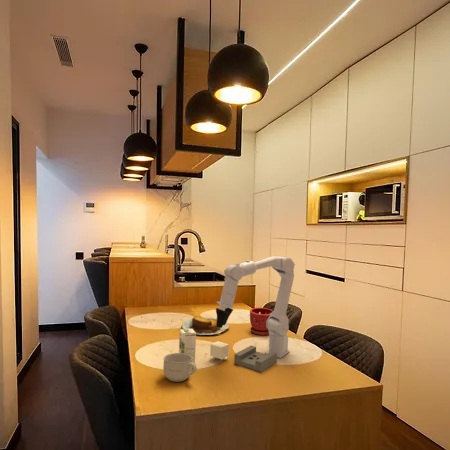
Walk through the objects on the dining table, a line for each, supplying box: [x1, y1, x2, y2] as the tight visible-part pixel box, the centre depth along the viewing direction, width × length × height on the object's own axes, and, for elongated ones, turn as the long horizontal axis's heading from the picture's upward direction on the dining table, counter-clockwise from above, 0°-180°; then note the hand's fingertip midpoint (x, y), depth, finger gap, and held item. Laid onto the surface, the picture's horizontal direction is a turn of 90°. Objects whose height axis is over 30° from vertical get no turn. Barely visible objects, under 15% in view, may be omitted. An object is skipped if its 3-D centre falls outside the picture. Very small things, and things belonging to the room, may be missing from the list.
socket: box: [233, 345, 278, 373], centre depth 141 cm, size 13×13×4 cm
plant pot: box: [249, 307, 274, 336], centre depth 181 cm, size 13×13×12 cm
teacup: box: [163, 352, 197, 383], centre depth 125 cm, size 14×11×8 cm
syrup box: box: [178, 328, 197, 369], centre depth 136 cm, size 6×6×14 cm
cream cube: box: [209, 340, 230, 362], centre depth 144 cm, size 5×6×6 cm
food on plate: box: [180, 315, 230, 336], centre depth 185 cm, size 26×26×7 cm
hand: (220, 325), depth 139 cm, fingers open, 7 cm apart
